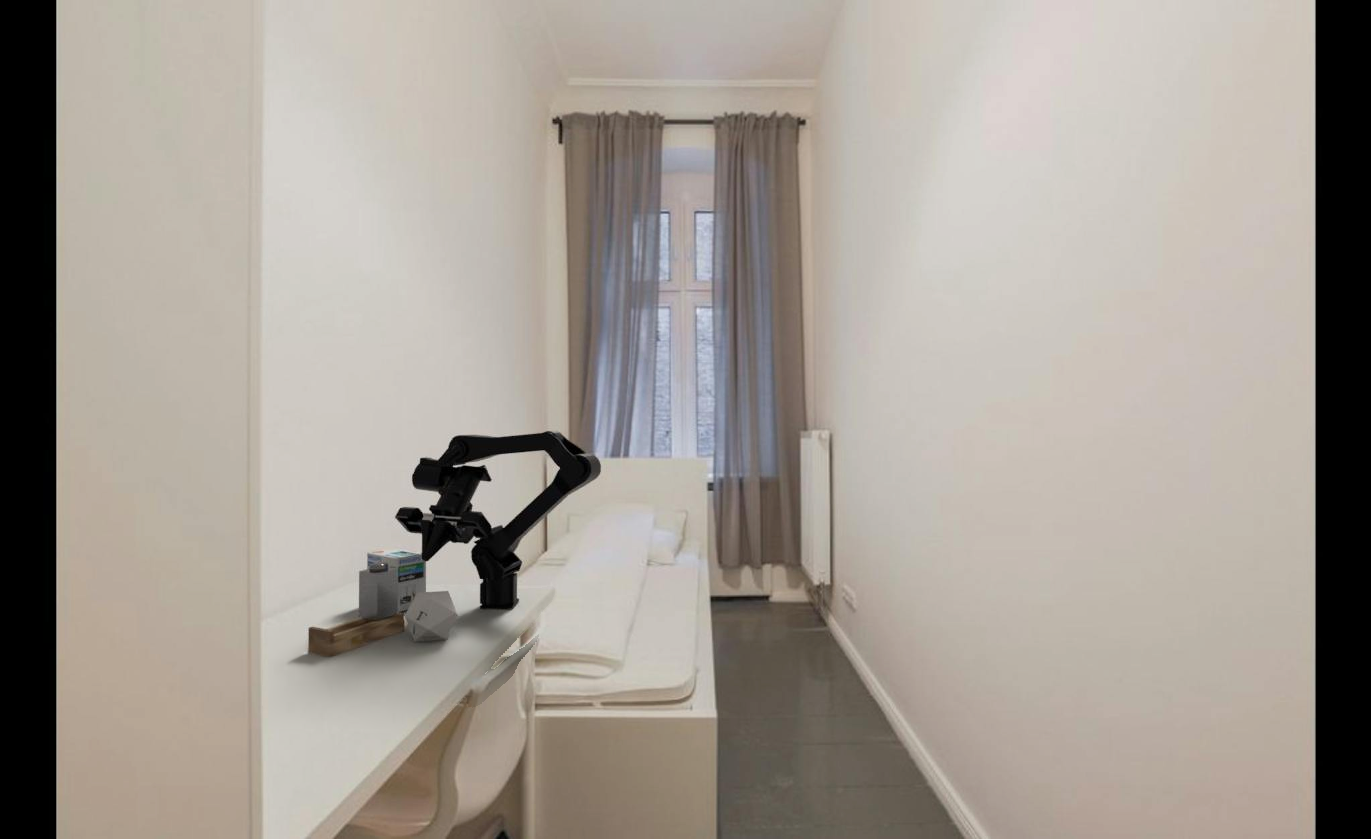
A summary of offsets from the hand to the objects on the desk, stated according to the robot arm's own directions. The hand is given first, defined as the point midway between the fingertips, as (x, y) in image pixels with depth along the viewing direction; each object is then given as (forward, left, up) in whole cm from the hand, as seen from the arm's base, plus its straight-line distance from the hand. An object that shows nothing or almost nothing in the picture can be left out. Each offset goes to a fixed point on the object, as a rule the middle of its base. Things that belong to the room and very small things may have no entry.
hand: (424, 560), depth 127 cm
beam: (+7, +12, -11) cm, 18 cm away
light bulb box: (+9, -10, -12) cm, 18 cm away
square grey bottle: (+5, +8, -9) cm, 13 cm away
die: (-5, +10, -12) cm, 16 cm away
